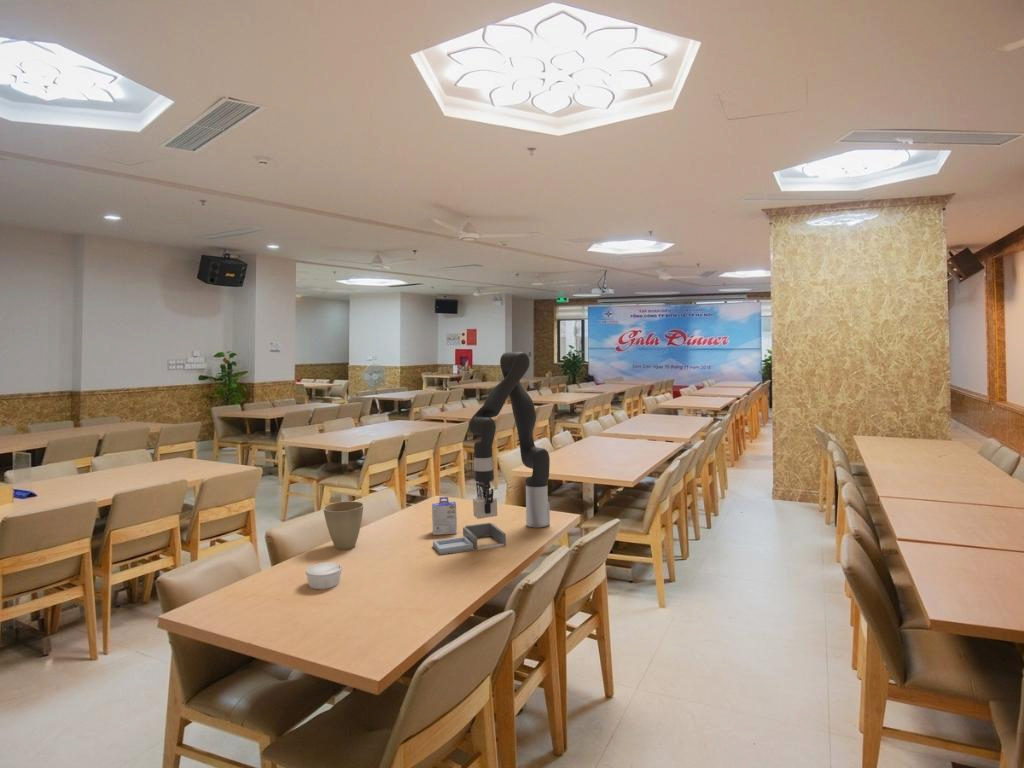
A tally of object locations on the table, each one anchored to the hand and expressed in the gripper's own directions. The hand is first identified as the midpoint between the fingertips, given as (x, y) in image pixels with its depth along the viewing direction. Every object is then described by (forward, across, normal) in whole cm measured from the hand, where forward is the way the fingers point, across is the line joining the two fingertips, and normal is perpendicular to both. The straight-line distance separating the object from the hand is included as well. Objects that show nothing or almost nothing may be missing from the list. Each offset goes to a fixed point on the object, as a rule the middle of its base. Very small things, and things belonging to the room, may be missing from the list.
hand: (485, 511), depth 228 cm
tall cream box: (+2, 0, 0) cm, 2 cm away
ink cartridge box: (+12, +19, +12) cm, 25 cm away
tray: (+12, -1, +14) cm, 18 cm away
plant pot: (+12, +18, +52) cm, 56 cm away
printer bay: (+12, 0, +1) cm, 12 cm away
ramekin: (+11, -17, +62) cm, 65 cm away
